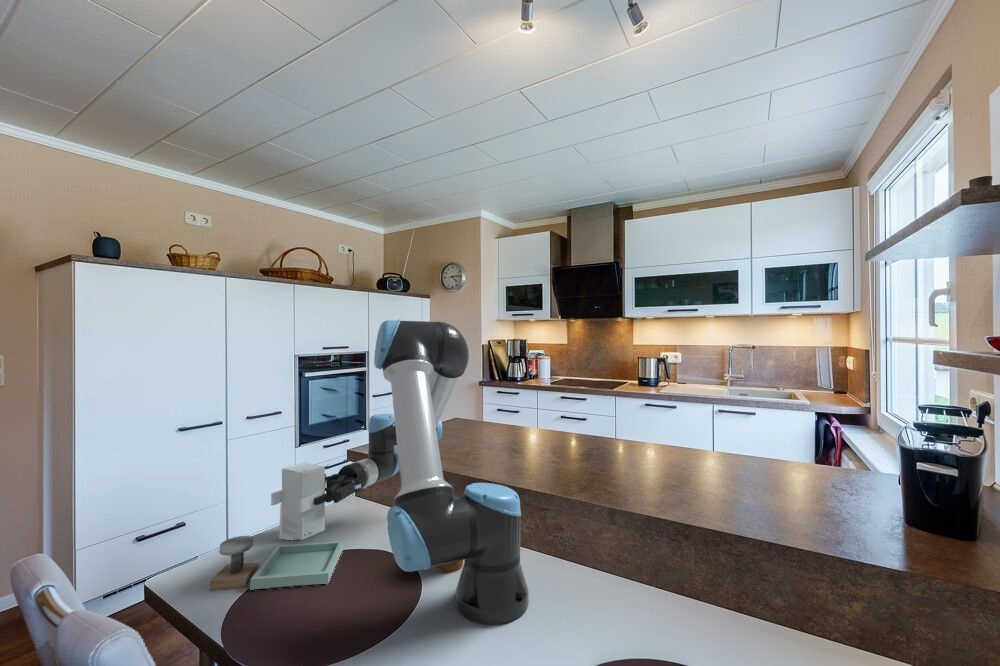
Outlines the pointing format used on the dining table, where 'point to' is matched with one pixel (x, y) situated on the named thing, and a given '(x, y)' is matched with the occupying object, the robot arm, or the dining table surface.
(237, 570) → the mushroom shaped stand
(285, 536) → the jar
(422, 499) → the robot arm
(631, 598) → the dining table surface
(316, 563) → the tray
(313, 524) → the skincare box
